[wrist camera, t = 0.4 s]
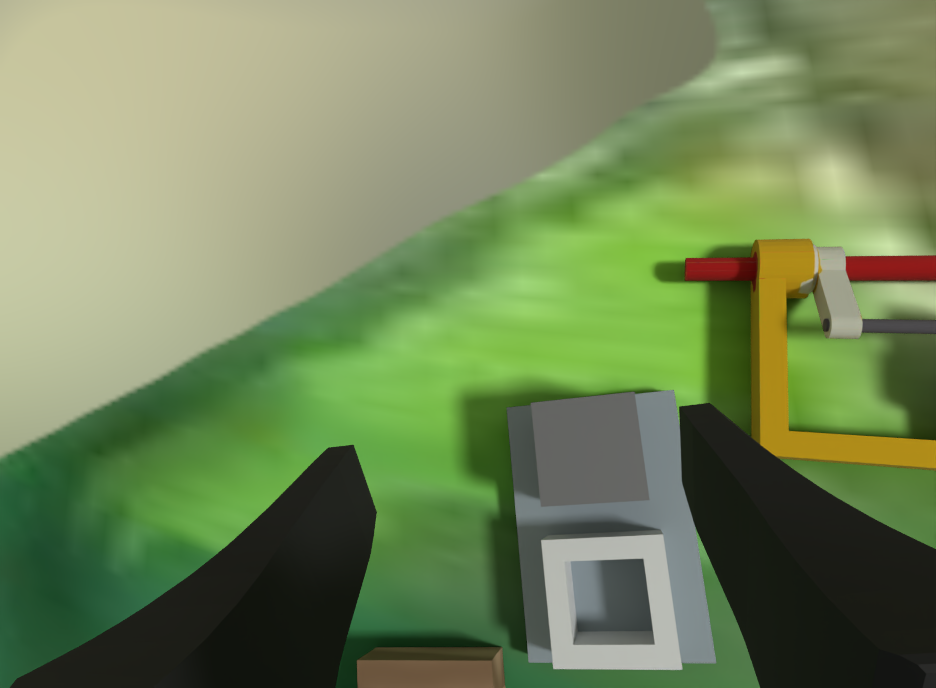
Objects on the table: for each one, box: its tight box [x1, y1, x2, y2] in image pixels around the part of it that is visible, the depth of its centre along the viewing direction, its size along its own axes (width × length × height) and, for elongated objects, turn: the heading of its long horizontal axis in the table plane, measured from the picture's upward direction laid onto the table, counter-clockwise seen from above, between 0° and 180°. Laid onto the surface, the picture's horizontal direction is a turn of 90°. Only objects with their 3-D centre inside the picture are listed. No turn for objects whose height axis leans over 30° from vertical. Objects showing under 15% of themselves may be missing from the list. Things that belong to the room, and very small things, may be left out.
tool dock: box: [507, 390, 716, 670], centre depth 36 cm, size 16×11×6 cm
